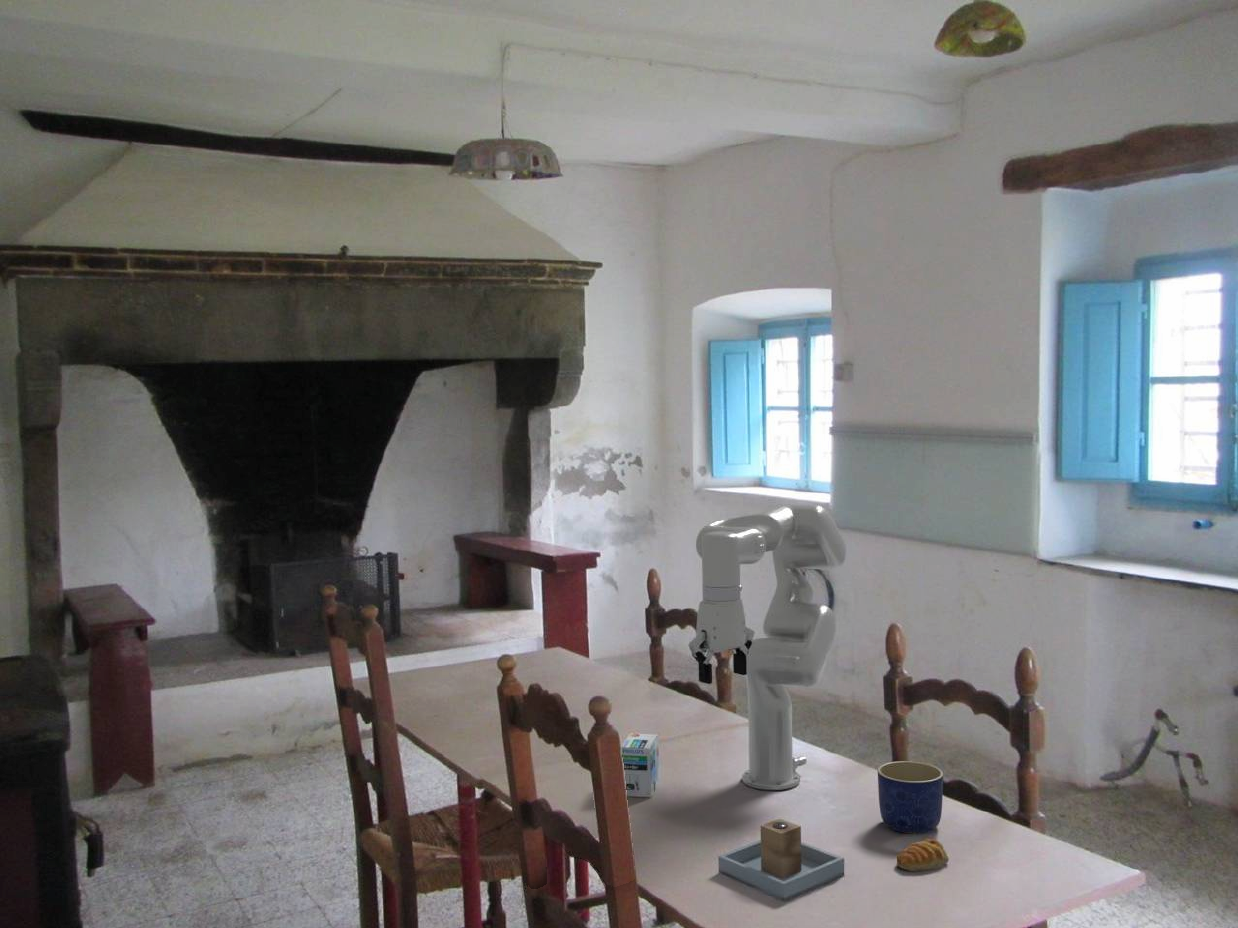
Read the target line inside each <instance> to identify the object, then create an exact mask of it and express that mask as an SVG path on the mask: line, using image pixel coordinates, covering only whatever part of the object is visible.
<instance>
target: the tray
mask: <svg viewBox="0 0 1238 928" xmlns="http://www.w3.org/2000/svg"><path fill="white" fill-rule="evenodd" d="M717 858H718V874H721V875H723V876H726V877H727V878H730V879H732V880H733V881H737V882H739V883H741V884H744V885H746V886H747V887H750V888H752V889H755V890H756V891H759V892H762V893H764V894H766V895H768V896H770V897H773V898H775V899H777V900H780V901H782V902H783V903H784V902H787V901H789V900H791V899H794V898H796V897H798V896H800V895H803V894H806V893H807V892H809V891H811V890H814V889H816V888H818V887H821V886H823V885H825V884H828V883H829V882H832V881H834V880H836V879H838V878H841V877H843V876H845V858H844V857H842V856H839V855H837V854H834V853H832V852H829V851H826V850H823V849H821V848H818V847H815V846H812V845H811V844H808V843H806V842H803V841H801V871H799V872H797V873H795V874H792V875H790V876H788V877H785V878H783V879H782V878H779V877H777V876H775V875H772V874H770V873H767V872H765V871H763V870H761V839H759V840H757V841H754V842H751V843H748V844H746V845H744V846H741V847H739V848H735V849H733V850H731V851H728V852H726V853H723V854H720V855H718V857H717Z"/></svg>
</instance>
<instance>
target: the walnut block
mask: <svg viewBox="0 0 1238 928" xmlns="http://www.w3.org/2000/svg"><path fill="white" fill-rule="evenodd" d="M760 840H761V870H763V871H765V872H767V873H770V874H772V875H775V876H777V877H779V878H782V879H783V878H785V877H788V876H790V875H792V874H795V873H797V872H799V871H801V842H802V826H801V825H798V824H795V823H793V822H790V821H788V820H785V819H782V818H777V819H775V820H772V821H770V822H767V823H764V824H762V825H760Z"/></svg>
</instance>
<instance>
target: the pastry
mask: <svg viewBox="0 0 1238 928" xmlns="http://www.w3.org/2000/svg"><path fill="white" fill-rule="evenodd" d="M949 861H950V860H949V856H948V854H947V851H946V850H945V848H944V845H943V844H942V843H941V842H940V841H938V840H937V839H935V838H934V839H931V838H930V839H928V838H926V839H924V840H922V841H917V842H912V843H910V844H909V845H908V846H907V847H905V848H904V849H903V850H902V851H901V852H900V853H899V854H898V855H897V857H896V867H899V868H901V869H903V870H906V871H910V872H919V871H920V872H922V871H930V870H935V869H938V868H941V867H944V866H946V864H948V862H949Z"/></svg>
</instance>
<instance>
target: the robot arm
mask: <svg viewBox="0 0 1238 928" xmlns="http://www.w3.org/2000/svg"><path fill="white" fill-rule="evenodd" d="M698 532H699V533H698V534H697V536H696V539H695V548H696V552H697V554H698V556H699V558H700V559H701V570H702V571H701V573H702V574H701V575H702V576H701V578H702V579H701V580H702V601H700V602H699V606H698V610H697V618H696V627H695V628H696V629H695V630H696V633H695V637H693V639H692V640H691V641H690V642H689V643H688V648H689V650H690V652H691V655H692V657H693V658H694V659H695V662H696V663H697V664H698V681H699V682H701V683H704V684H707V685H710V684H712V683H713V664H712V663H710V662H711V660H712V658H713V656H714V654H717V653H723V652H727V651H731V650H732V651H734V652H735V653H733V655H732V659H733V660H732V662H733V665H732V667H733V673H734V674H737V675H740V676H745V681H746V689H747V714H748V717H747V718H748V723H747V724H748V725H747V726H748V765H749V766H748V769H747V770H745V771H744V772H743V773H742V775H741V778H742V782H743V783H744V784H745V785H746V786H748V787H750V788H753V789H759V790H764V791H782V790H789V789H792V788H794V787H797V786H798V785H799V784H800V782H801V775H800V774H799V773H798V772H796V769H797V768H798V767H802V766H804V765H806V764H807V758H806V757H805V756H804V755H801V756H797V757H796V758H795V757H793V707H792V699H791V696H790V695H789V693H788V690H787V689H786V687H785V686H784V685H787V686H795V687H814V686H815V685H816V684H818V682H819V681H820V679H821V678H822V675H823V672H824V670H825V667H826V663H827V660H828V657H829V656H830V653H831V649H832V646H833V643H834V640H835V636H836V627H837V626H836V625H837V624H836V618H835V617H836V616H835V613H834V612H833V610H832V609H831V608H830V607H829V606H827V605H824V604H821V603H813V602H812V601H813V597H814V591H813V587H812V586H811V584H810V582H809V580H808V579H807V578H806V576H805V575H804V574H803V573H802V571H801V569H811V570H824V571H825V570H827V571H832V570H833V571H834V570H837V569H839V568H840V567H842V566H843V564H844V563H845V561H846V558H847V549H846V543H845V540H844V537H843V535H842V533H841V532H840V529H839V528H838V526H837V524H836V523H835V520H834V518H832V516H831V515H830V513H829V512H828V510H826V509H825V508H824V507H823V506H821V505H817V504H814V505H813V504H812V505H811V504H789V503H788V504H779V505H776V506H773V507H771V508H769V509H767V510H765V511H761V512H759V513H756V514H749V515H743V516H738V517H732V518H727V519H721V520H717V521H716V520H715V521H714V522H711V523H708V524H706V525H705V526H704V527H702V528H701V529H700V530H699V531H698ZM771 551H772V561H773V567H774V568H773V569H774V573H775V576H776V577H775V579H776V588H775V591H774V594H773V596H772V599H771V602H770V603H769V607H768V609H767V611H766V614H765V618H764V620H763V626H762V630H763V635H765V637H761V638H760V637H759V638H755V639H754V636H755V631H754V630H753V629H751V628H749V627H747V626H746V617H745V616H746V615H745V609H744V603H743V600H742V598H741V592H742V590H743V587H742V585H741V565H753V564H756V563H758V562H759V561H760V560H761V559H762V558H763V557H764V556H765V553H767V552H771Z"/></svg>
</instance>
